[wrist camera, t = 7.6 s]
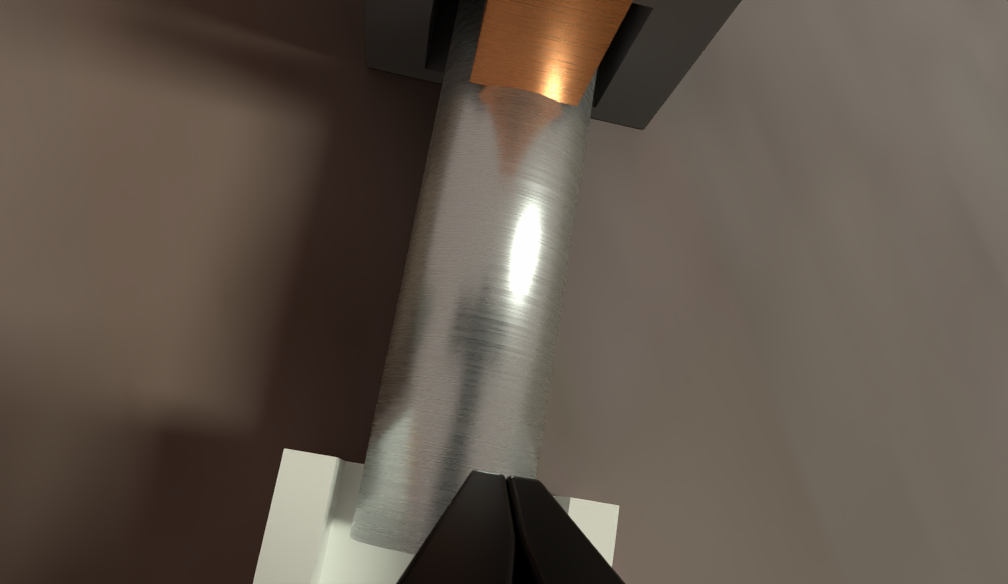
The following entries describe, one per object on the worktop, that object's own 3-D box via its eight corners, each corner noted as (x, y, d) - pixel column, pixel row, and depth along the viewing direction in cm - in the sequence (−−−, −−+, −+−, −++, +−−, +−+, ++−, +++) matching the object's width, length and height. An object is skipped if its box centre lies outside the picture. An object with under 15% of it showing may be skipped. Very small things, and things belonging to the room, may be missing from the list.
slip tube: (507, 555, 18) (663, 652, 8) (352, 530, 18) (316, 599, 8) (599, -34, 22) (778, -452, 12) (474, -66, 22) (553, -524, 12)
